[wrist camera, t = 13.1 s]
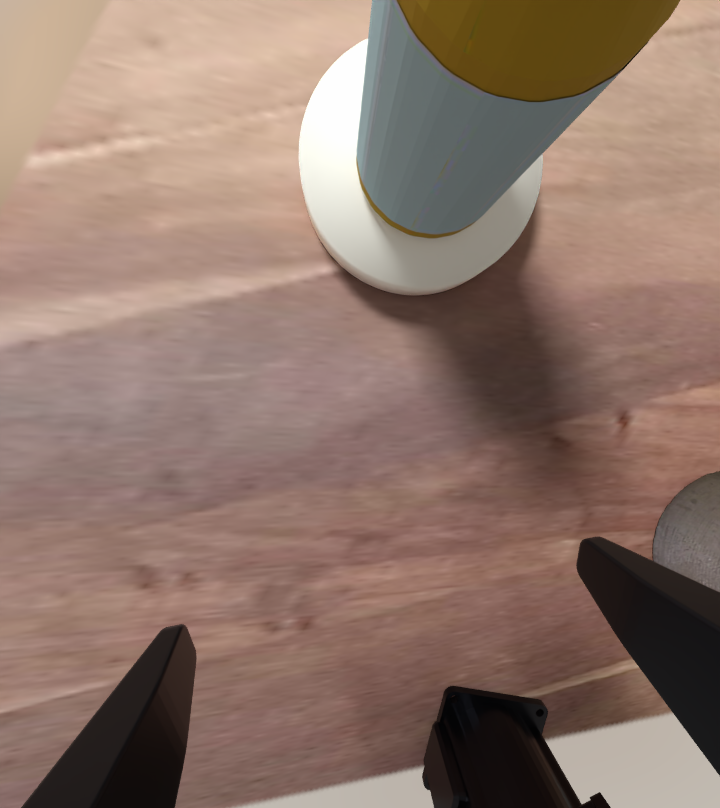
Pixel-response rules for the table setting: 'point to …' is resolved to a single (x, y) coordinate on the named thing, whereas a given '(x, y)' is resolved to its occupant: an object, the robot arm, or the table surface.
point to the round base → (363, 228)
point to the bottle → (480, 96)
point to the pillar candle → (692, 532)
